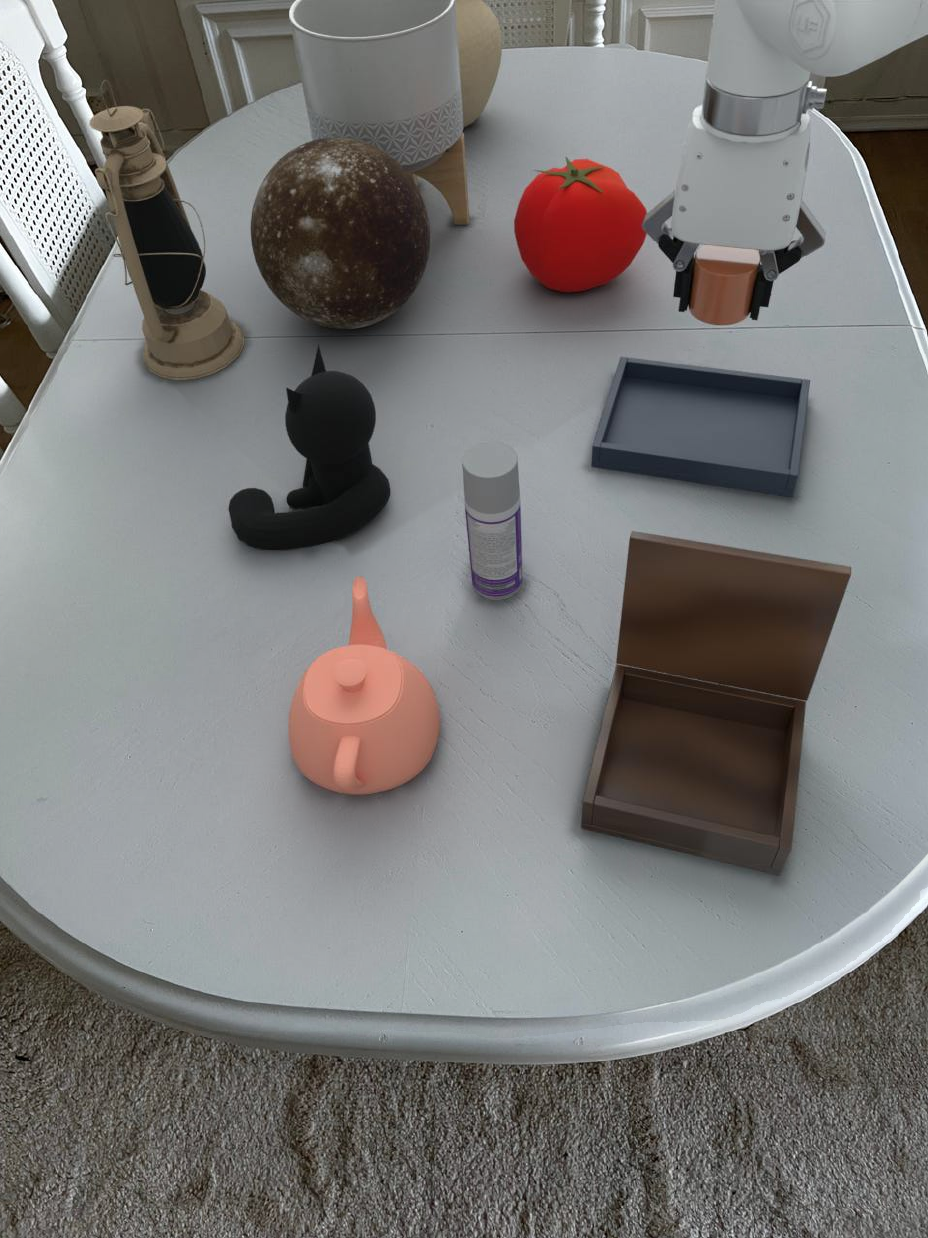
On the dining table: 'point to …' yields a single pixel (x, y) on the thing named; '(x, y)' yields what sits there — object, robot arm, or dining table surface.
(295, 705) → the teapot
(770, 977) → the dining table surface
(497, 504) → the container
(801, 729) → the brown wooden shallow box
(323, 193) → the decorative sphere
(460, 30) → the vase
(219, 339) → the lantern
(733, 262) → the orange cylinder puck
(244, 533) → the figurine
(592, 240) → the tomato
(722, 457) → the tray
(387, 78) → the planter
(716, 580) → the lid
